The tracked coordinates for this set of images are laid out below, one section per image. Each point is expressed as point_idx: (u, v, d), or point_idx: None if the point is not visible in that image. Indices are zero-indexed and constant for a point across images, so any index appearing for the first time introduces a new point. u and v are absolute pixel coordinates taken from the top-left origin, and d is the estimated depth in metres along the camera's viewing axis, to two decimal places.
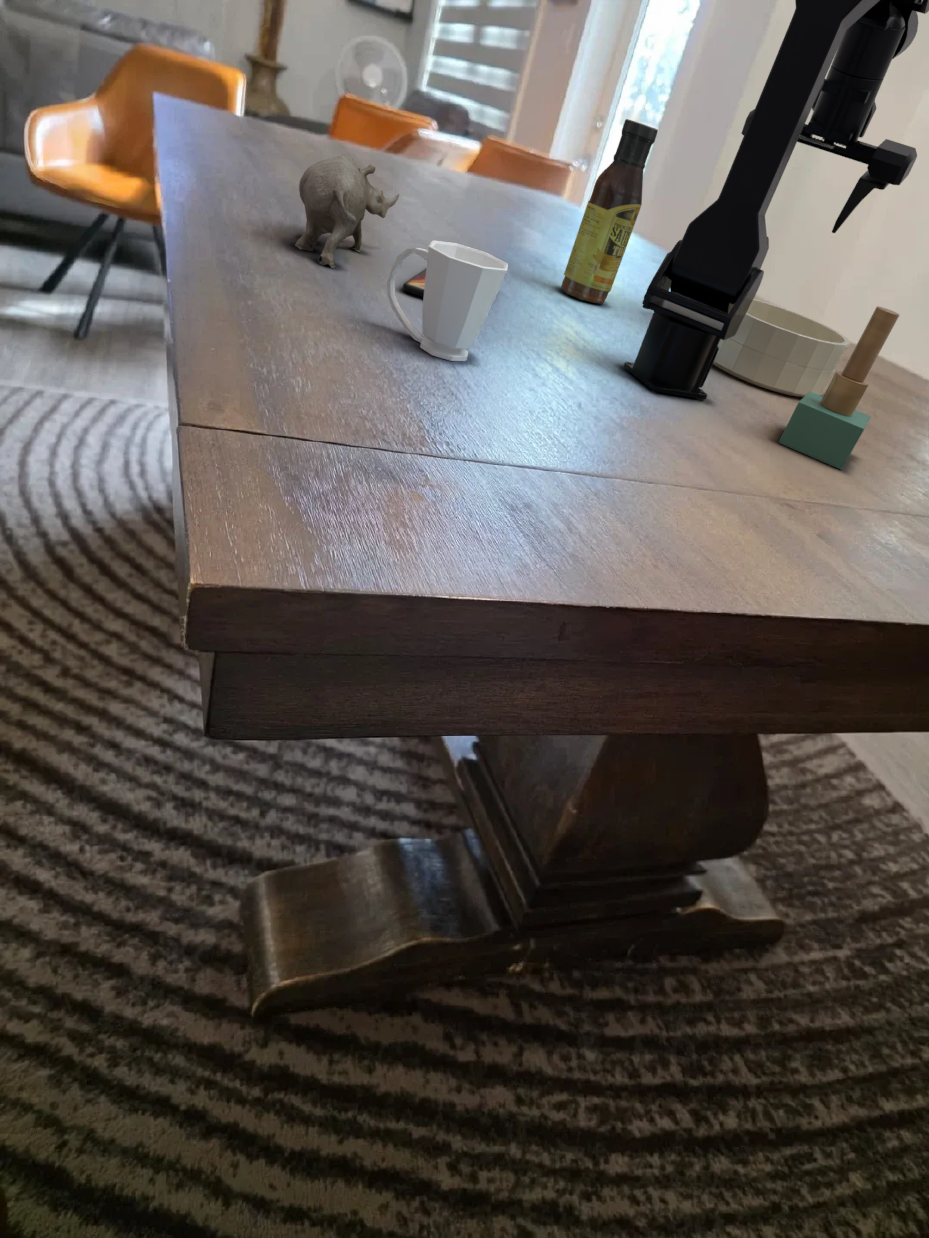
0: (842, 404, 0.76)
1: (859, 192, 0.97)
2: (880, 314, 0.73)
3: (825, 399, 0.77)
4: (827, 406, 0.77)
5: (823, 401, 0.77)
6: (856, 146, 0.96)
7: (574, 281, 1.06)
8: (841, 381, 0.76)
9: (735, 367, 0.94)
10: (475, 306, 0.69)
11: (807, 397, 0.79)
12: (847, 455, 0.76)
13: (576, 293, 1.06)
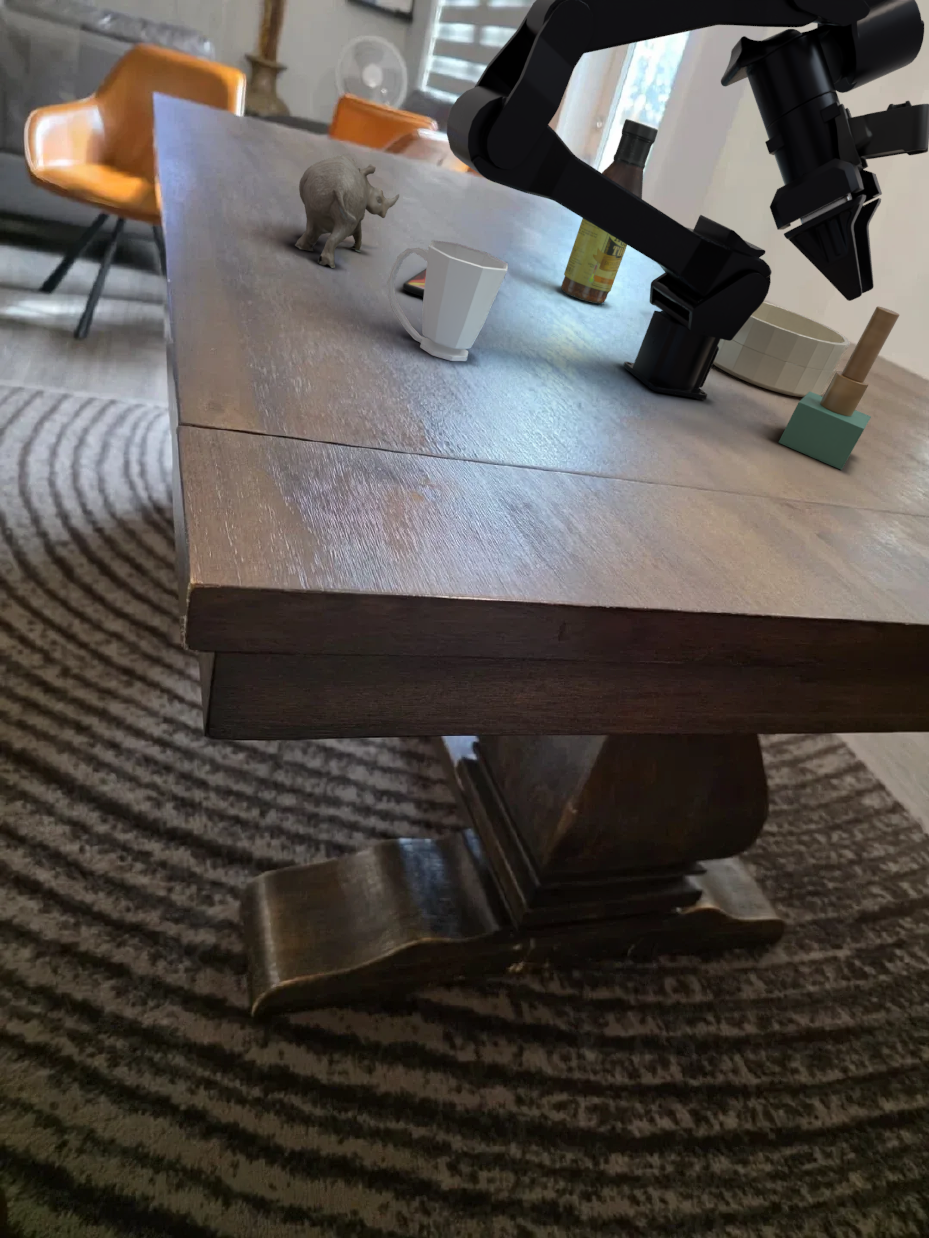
0: (842, 404, 0.76)
1: None
2: (880, 314, 0.73)
3: (825, 399, 0.77)
4: (827, 406, 0.77)
5: (823, 401, 0.77)
6: None
7: (574, 281, 1.06)
8: (841, 381, 0.76)
9: (735, 367, 0.94)
10: (475, 306, 0.69)
11: (807, 397, 0.79)
12: (847, 455, 0.76)
13: (576, 293, 1.06)
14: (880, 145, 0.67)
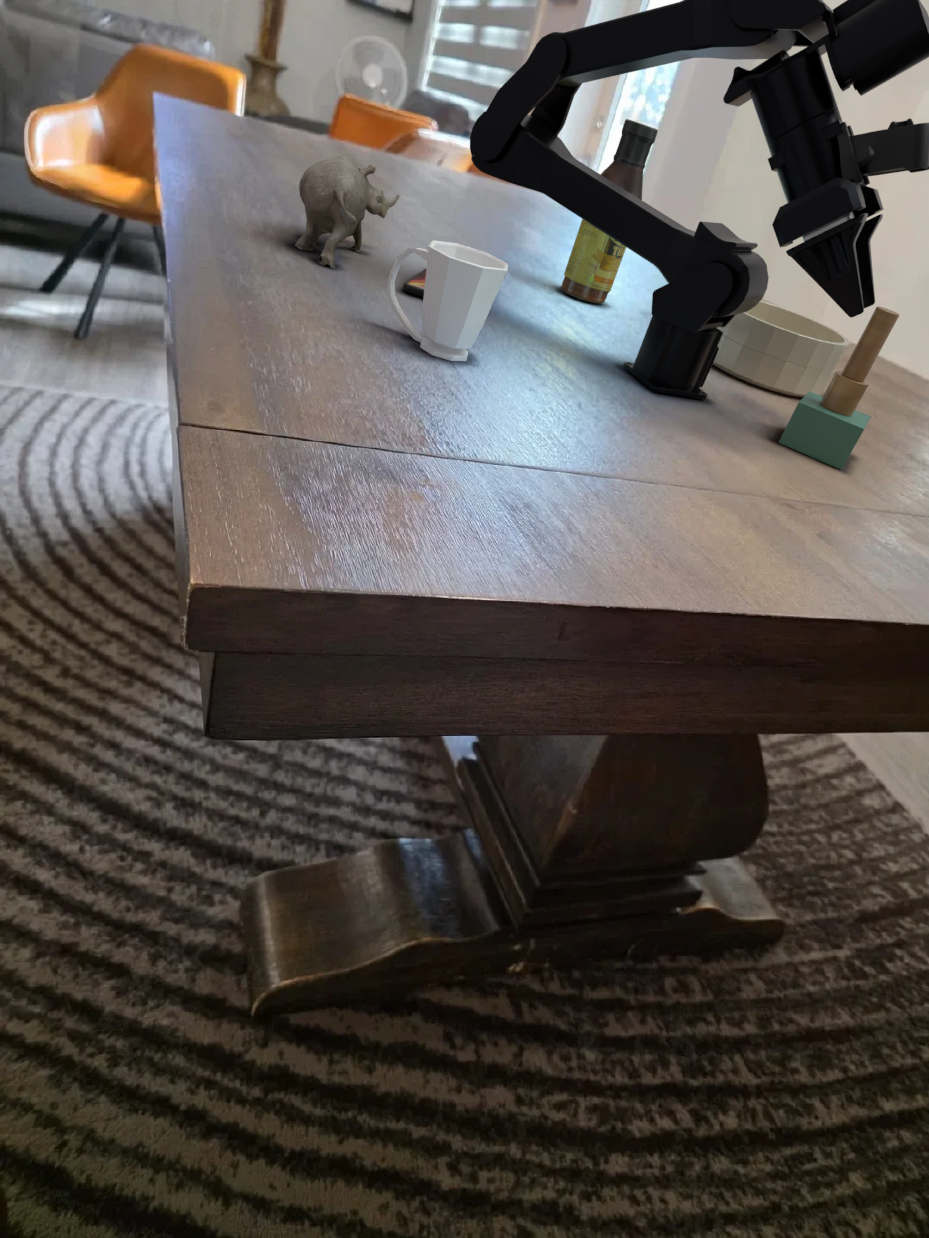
0: (842, 404, 0.76)
1: None
2: (880, 314, 0.73)
3: (825, 399, 0.77)
4: (827, 406, 0.77)
5: (823, 401, 0.77)
6: None
7: (574, 281, 1.06)
8: (841, 381, 0.76)
9: (735, 367, 0.94)
10: (475, 306, 0.69)
11: (807, 397, 0.79)
12: (847, 455, 0.76)
13: (576, 293, 1.06)
14: (882, 163, 0.68)
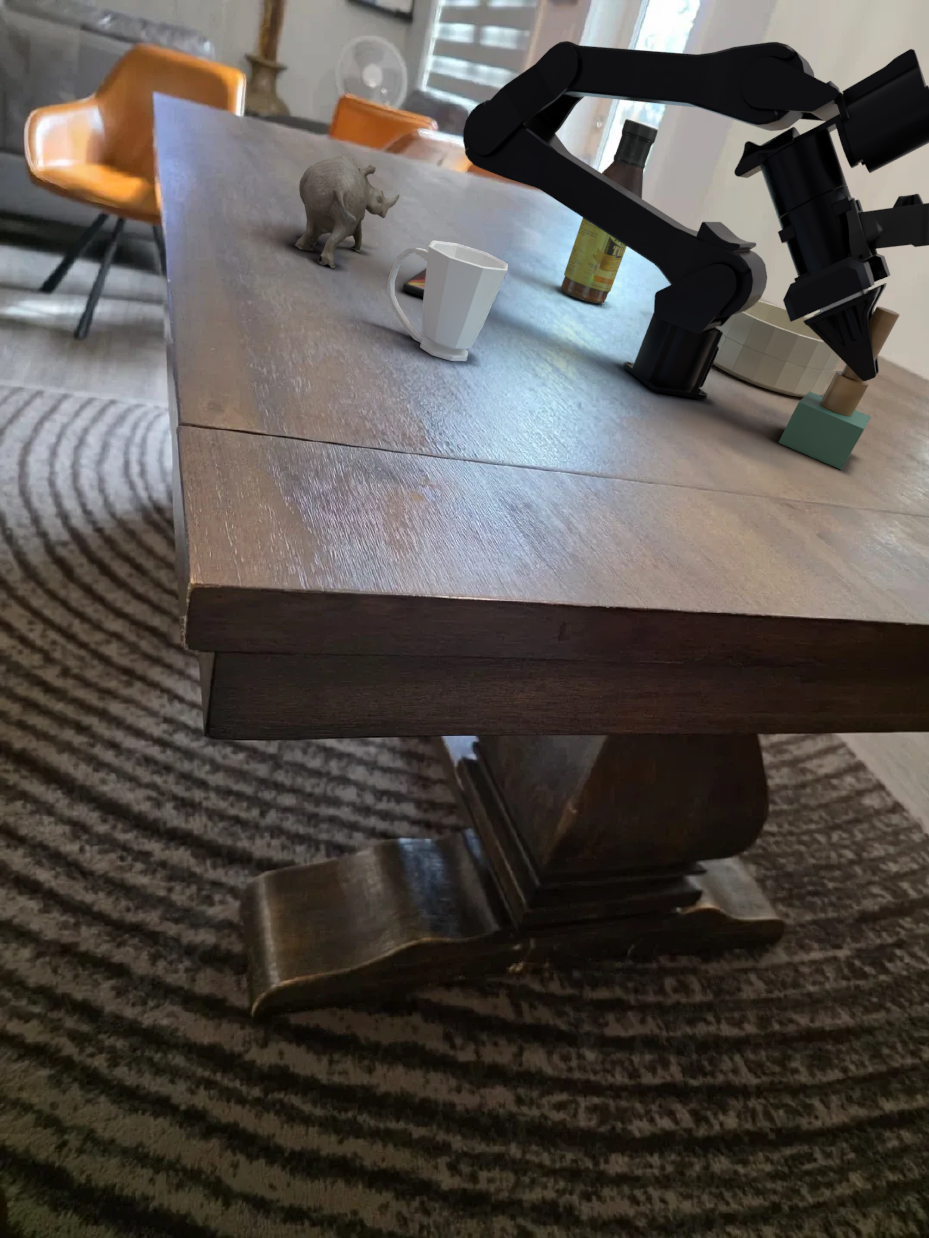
0: (842, 404, 0.76)
1: None
2: (880, 314, 0.73)
3: (825, 399, 0.77)
4: (827, 406, 0.77)
5: (823, 401, 0.77)
6: None
7: (574, 281, 1.06)
8: (841, 381, 0.76)
9: (735, 367, 0.94)
10: (475, 306, 0.69)
11: (807, 397, 0.79)
12: (847, 455, 0.76)
13: (576, 293, 1.06)
14: (890, 240, 0.69)
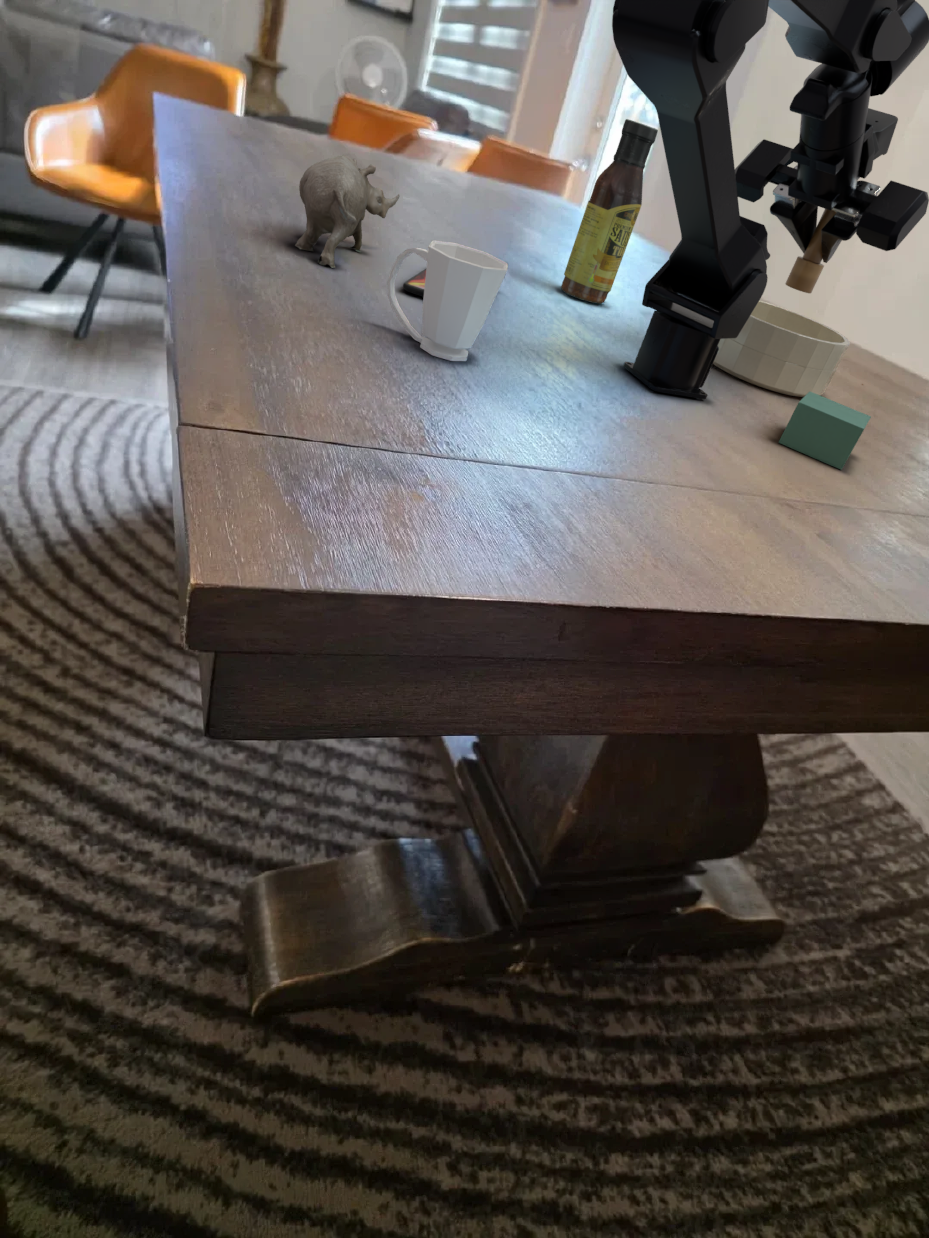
0: (814, 285, 0.94)
1: (827, 239, 0.88)
2: None
3: (804, 285, 0.94)
4: (806, 290, 0.94)
5: (801, 287, 0.94)
6: (851, 199, 0.85)
7: (574, 281, 1.06)
8: (818, 269, 0.93)
9: (735, 367, 0.94)
10: (475, 306, 0.69)
11: (807, 397, 0.79)
12: (847, 455, 0.76)
13: (576, 293, 1.06)
14: (877, 153, 0.85)
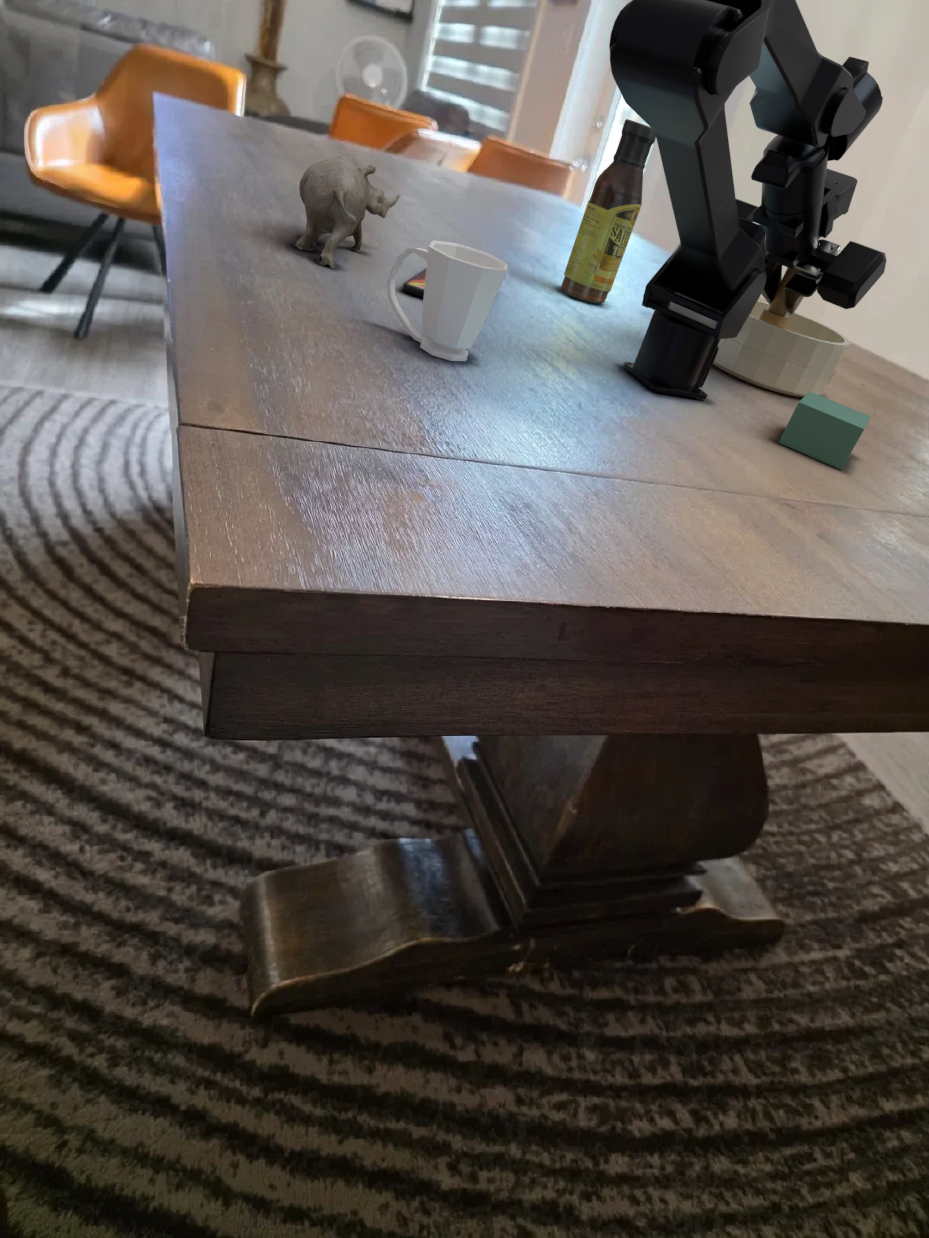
0: None
1: (791, 295, 0.91)
2: None
3: None
4: None
5: None
6: (812, 258, 0.88)
7: (574, 281, 1.06)
8: (783, 321, 0.96)
9: (735, 367, 0.94)
10: (475, 306, 0.69)
11: (807, 397, 0.79)
12: (847, 455, 0.76)
13: (576, 293, 1.06)
14: (837, 214, 0.88)
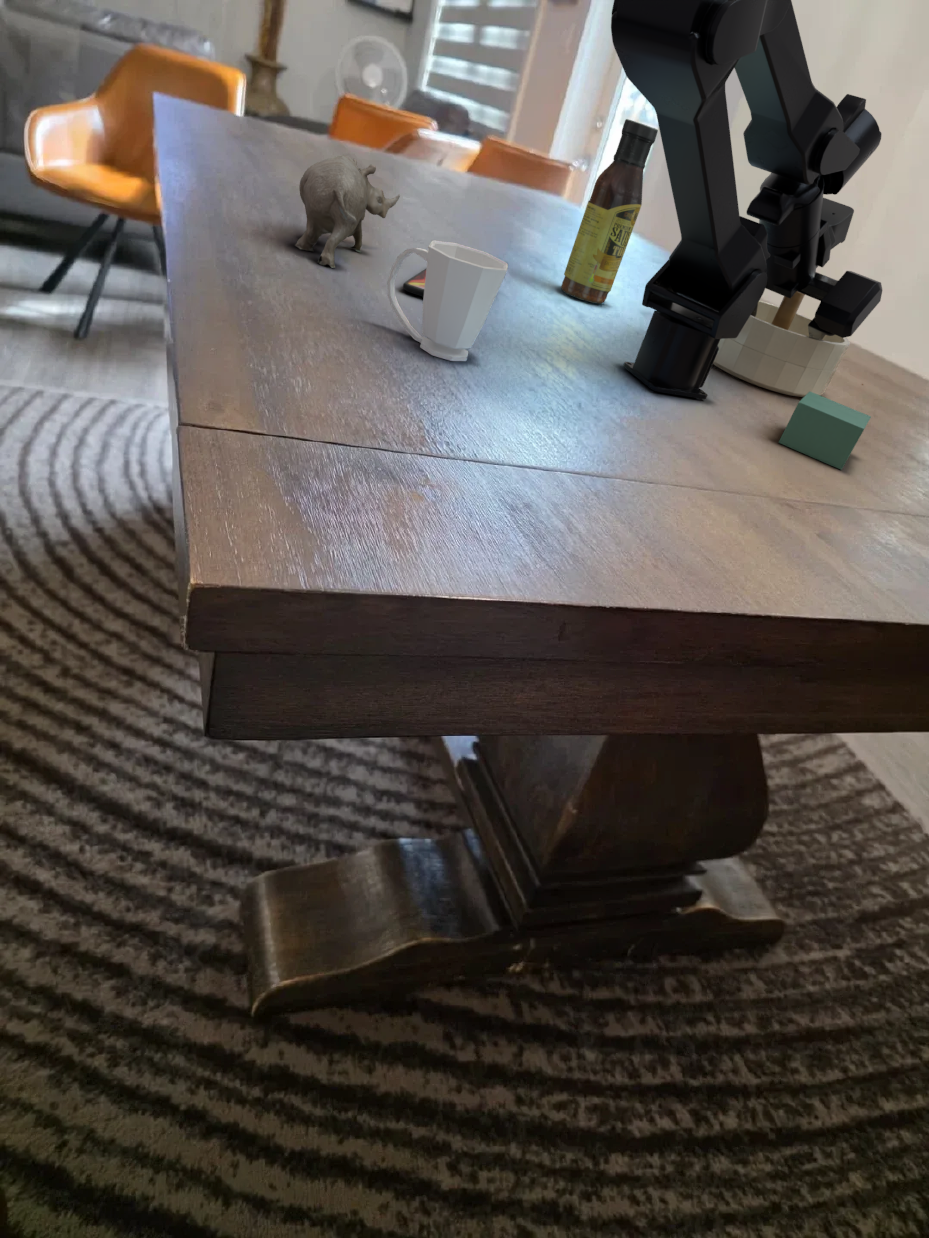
0: None
1: (814, 333, 0.91)
2: (801, 296, 0.95)
3: None
4: None
5: None
6: (809, 287, 0.89)
7: (574, 281, 1.06)
8: None
9: (735, 367, 0.94)
10: (475, 306, 0.69)
11: (807, 397, 0.79)
12: (847, 455, 0.76)
13: (576, 293, 1.06)
14: (834, 243, 0.90)
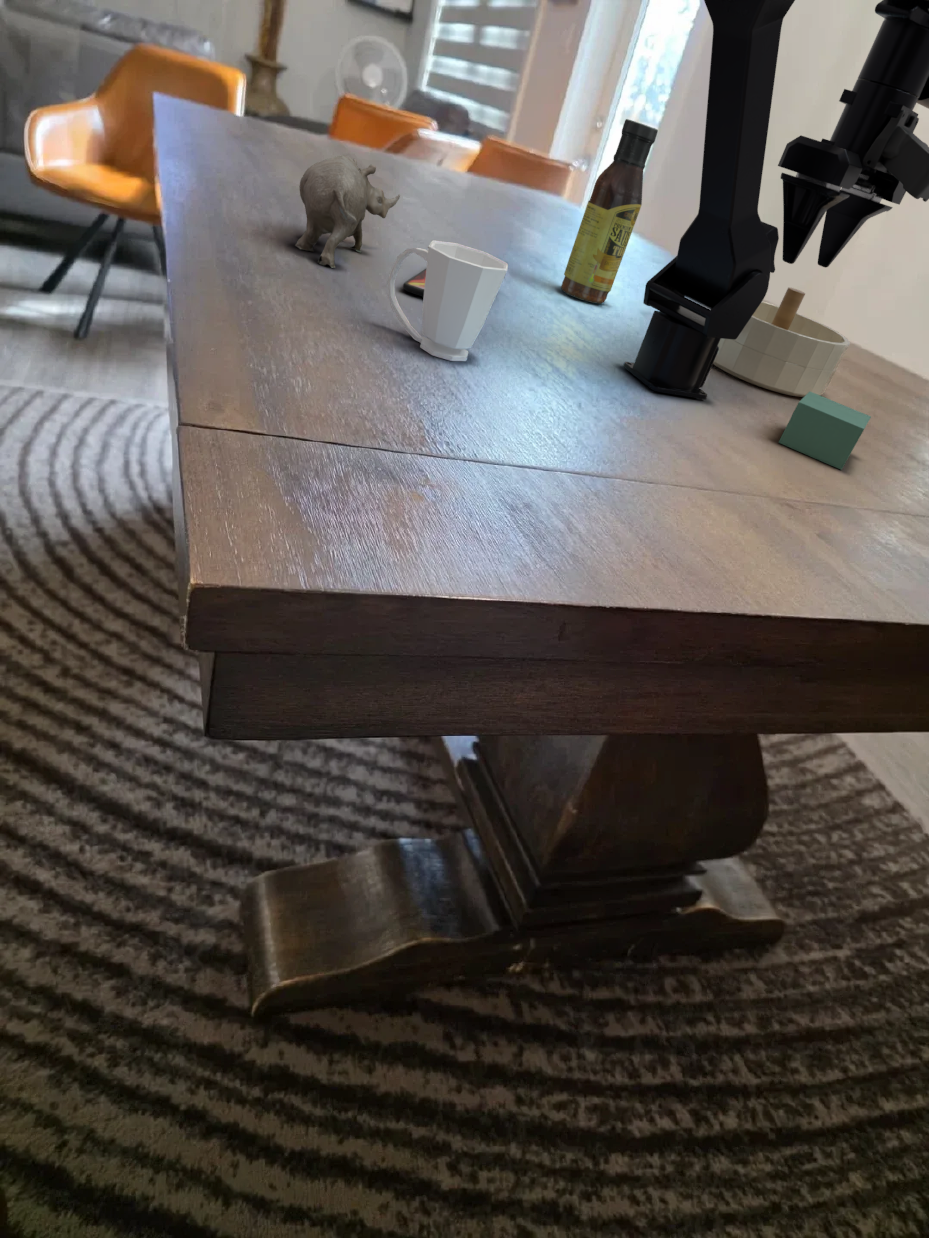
0: None
1: None
2: (801, 296, 0.95)
3: None
4: None
5: None
6: None
7: (574, 281, 1.06)
8: None
9: (735, 367, 0.94)
10: (475, 306, 0.69)
11: (807, 397, 0.79)
12: (847, 455, 0.76)
13: (576, 293, 1.06)
14: (895, 167, 0.77)
